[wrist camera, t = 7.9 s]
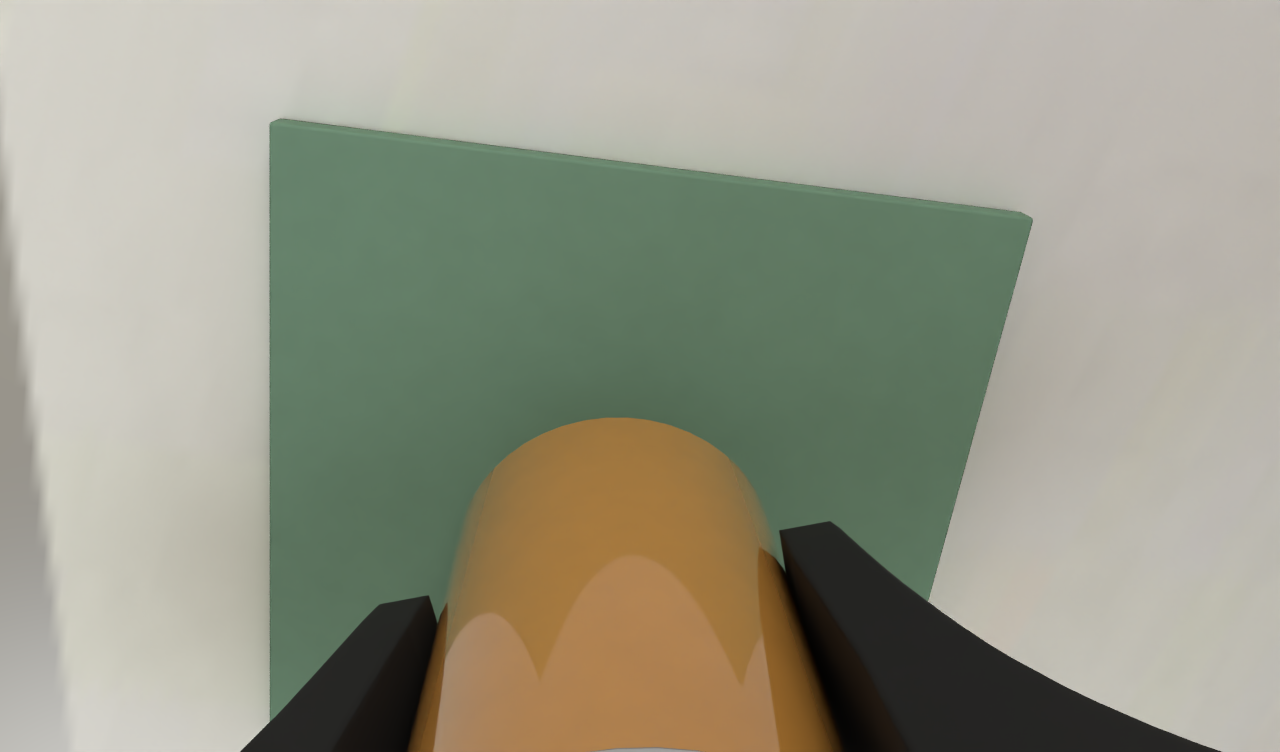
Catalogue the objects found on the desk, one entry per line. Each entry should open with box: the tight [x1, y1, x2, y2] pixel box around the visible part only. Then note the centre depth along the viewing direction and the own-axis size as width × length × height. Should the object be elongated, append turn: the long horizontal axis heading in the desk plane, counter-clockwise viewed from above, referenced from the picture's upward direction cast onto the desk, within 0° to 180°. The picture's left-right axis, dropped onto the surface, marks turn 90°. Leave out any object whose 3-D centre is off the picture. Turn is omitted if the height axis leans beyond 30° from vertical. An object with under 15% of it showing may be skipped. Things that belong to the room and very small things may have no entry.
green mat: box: [270, 119, 1033, 721], centre depth 15 cm, size 10×10×1 cm
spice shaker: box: [407, 418, 846, 752], centre depth 10 cm, size 4×4×7 cm
